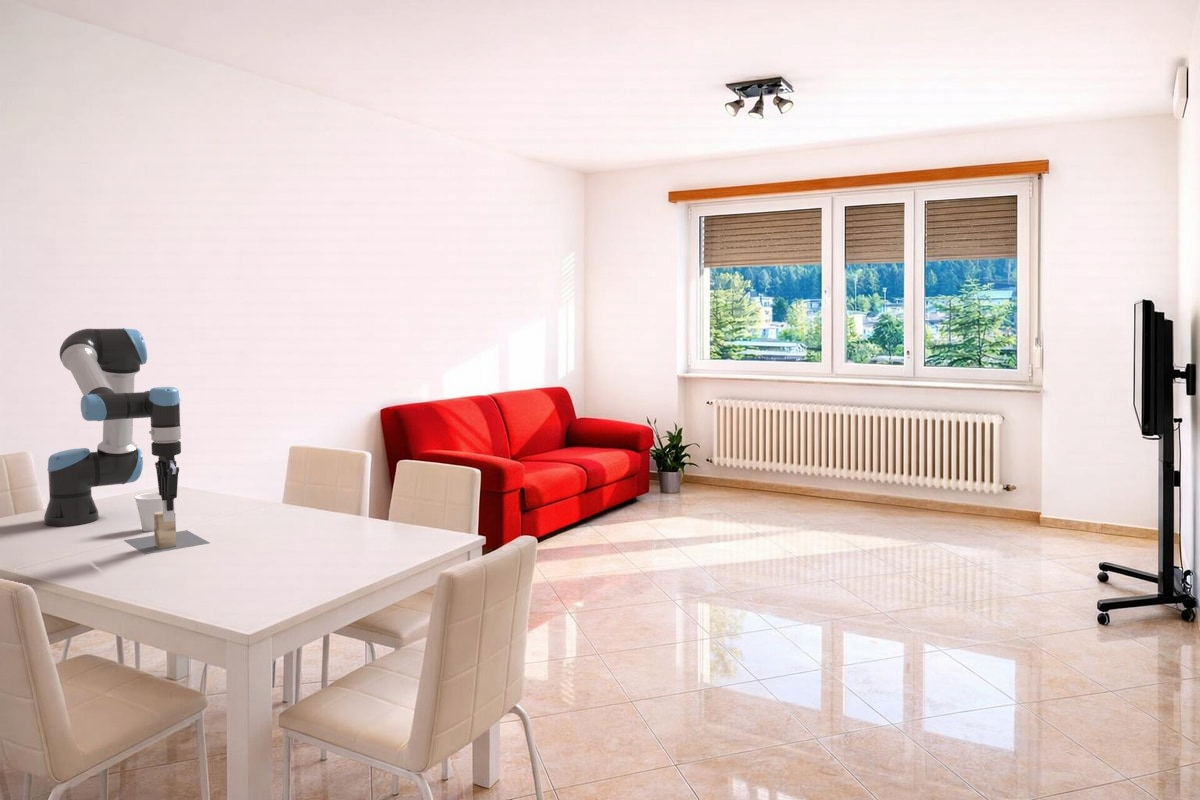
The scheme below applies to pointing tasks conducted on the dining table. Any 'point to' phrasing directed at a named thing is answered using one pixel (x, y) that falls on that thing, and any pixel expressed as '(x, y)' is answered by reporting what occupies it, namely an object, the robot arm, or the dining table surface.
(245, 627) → the dining table surface
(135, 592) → the dining table surface
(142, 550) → the mat
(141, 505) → the cup
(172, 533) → the beech block
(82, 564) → the dining table surface
